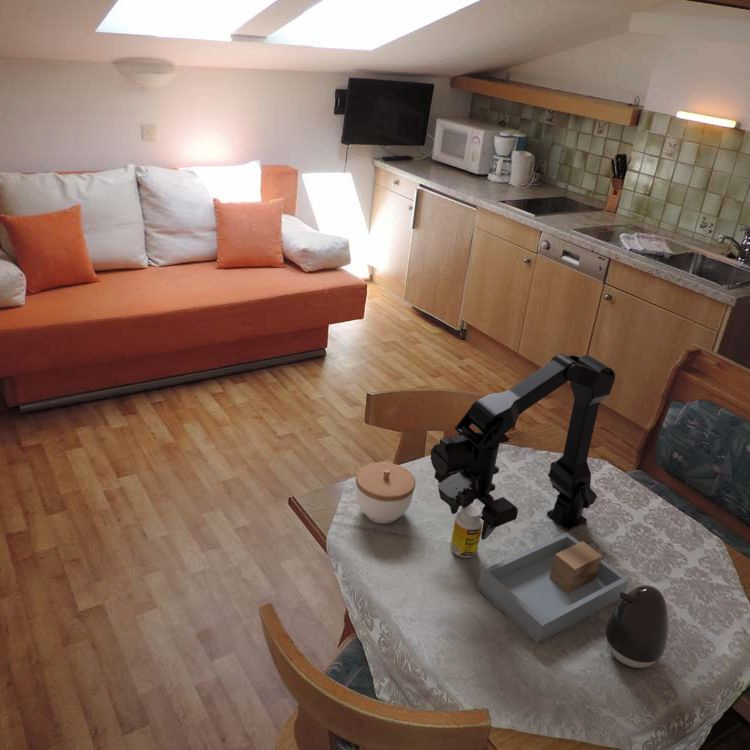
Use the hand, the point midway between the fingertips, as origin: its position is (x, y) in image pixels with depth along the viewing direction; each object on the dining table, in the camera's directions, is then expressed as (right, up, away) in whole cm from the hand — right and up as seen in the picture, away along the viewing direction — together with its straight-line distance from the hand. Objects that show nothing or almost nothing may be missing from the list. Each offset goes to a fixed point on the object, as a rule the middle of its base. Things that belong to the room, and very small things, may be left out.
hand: (468, 525), depth 153 cm
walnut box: (+20, -10, -3) cm, 23 cm away
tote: (+15, -12, -6) cm, 20 cm away
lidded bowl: (-18, 0, +11) cm, 21 cm away
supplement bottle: (-1, -6, +3) cm, 6 cm away
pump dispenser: (+26, -19, -18) cm, 37 cm away
